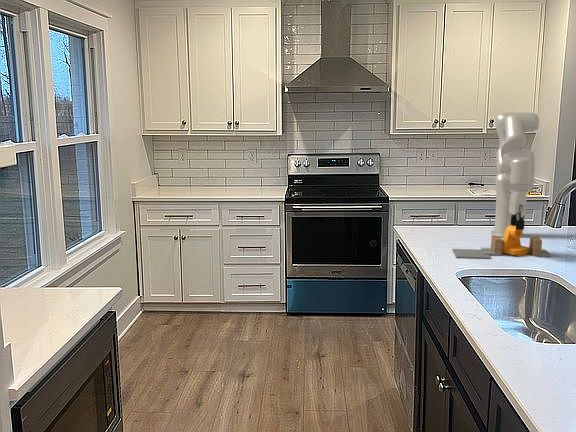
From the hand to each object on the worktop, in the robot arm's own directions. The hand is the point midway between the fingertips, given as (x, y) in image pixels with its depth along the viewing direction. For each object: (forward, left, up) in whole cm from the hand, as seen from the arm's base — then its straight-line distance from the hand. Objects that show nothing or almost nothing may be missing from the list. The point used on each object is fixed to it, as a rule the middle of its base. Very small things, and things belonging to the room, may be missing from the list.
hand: (517, 227), depth 240 cm
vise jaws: (-1, 0, -12) cm, 12 cm away
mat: (+3, -19, -12) cm, 22 cm away
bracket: (-1, 0, -12) cm, 12 cm away
